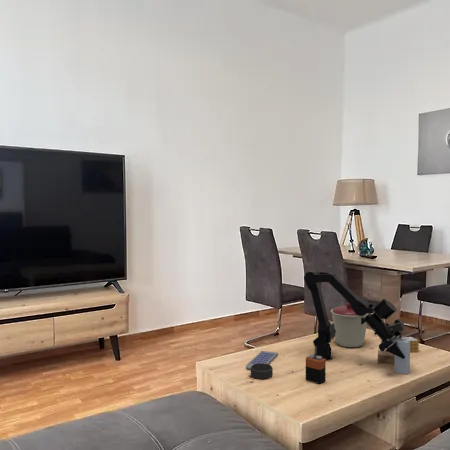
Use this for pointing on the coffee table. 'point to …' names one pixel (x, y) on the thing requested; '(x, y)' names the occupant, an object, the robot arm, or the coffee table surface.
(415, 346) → the puzzle toy
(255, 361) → the remote control
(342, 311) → the canister
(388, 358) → the walnut block
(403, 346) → the slate block
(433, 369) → the coffee table surface
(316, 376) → the battery
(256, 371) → the smart speaker
